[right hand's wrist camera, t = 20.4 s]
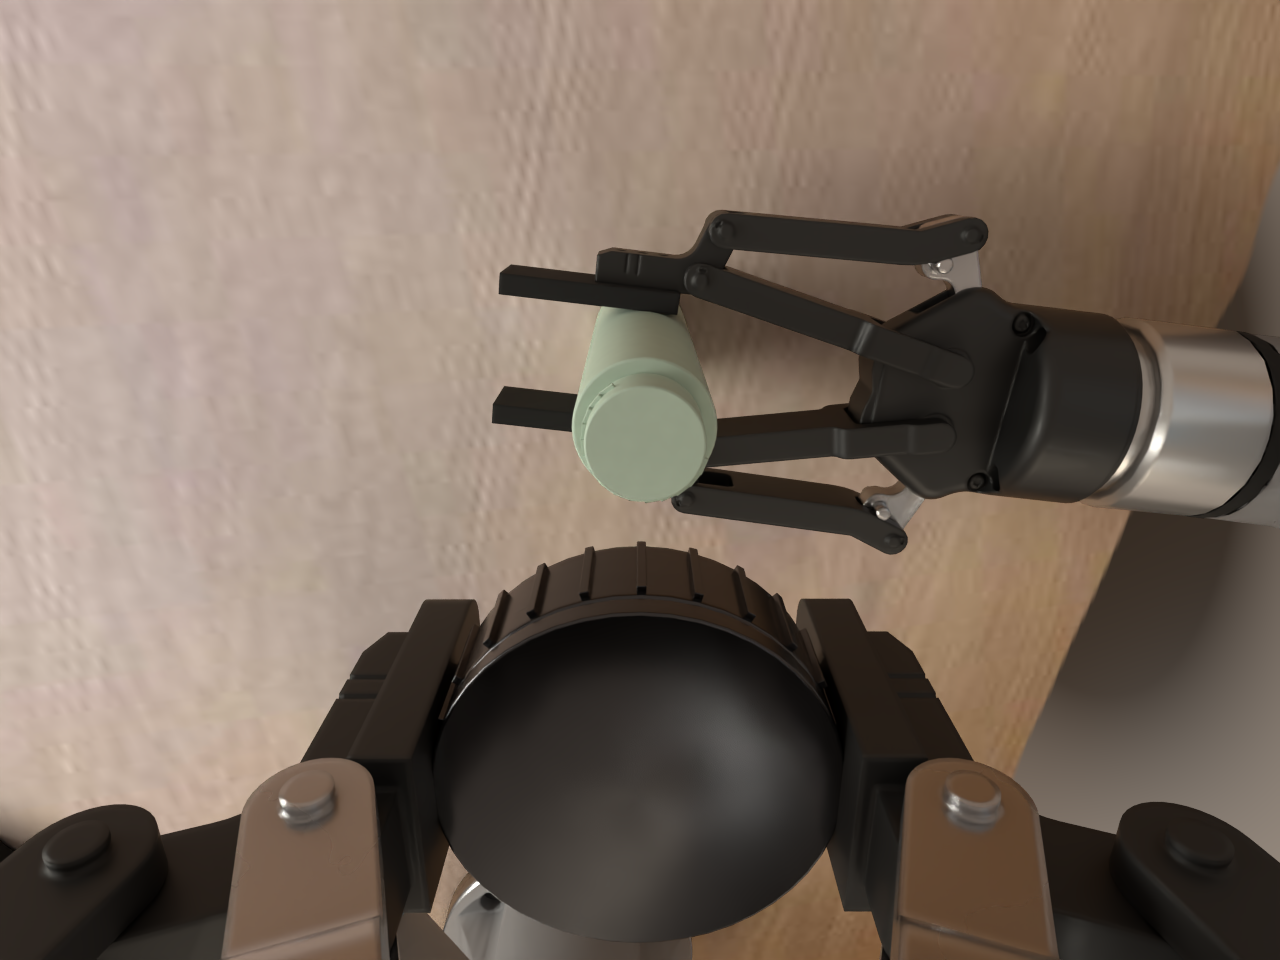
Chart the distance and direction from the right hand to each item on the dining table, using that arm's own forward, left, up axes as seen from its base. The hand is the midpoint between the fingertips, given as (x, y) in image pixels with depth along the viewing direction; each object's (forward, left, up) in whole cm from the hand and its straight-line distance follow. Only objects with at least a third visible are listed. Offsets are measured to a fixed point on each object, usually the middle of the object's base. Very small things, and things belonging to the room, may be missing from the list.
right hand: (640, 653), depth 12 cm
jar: (0, 0, -27) cm, 27 cm away
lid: (0, 0, +3) cm, 3 cm away
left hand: (-3, -5, -20) cm, 21 cm away
